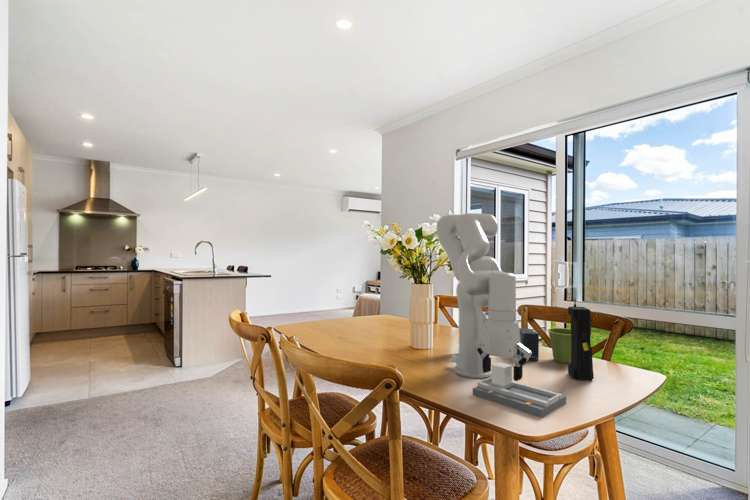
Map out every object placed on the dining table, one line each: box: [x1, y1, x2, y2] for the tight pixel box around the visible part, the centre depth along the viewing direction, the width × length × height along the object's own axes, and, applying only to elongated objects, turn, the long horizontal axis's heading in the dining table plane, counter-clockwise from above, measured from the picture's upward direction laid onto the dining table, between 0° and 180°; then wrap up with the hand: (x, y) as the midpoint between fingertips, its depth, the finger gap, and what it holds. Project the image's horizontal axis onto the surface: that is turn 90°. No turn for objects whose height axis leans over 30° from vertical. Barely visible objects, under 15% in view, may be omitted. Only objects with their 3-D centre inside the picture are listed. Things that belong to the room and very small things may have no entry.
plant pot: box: [546, 327, 571, 364], centre depth 147 cm, size 12×12×11 cm
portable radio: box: [567, 298, 595, 382], centre depth 127 cm, size 8×6×25 cm
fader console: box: [472, 376, 567, 419], centre depth 108 cm, size 20×14×3 cm
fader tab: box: [490, 362, 513, 389], centre depth 112 cm, size 4×6×6 cm
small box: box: [519, 327, 540, 362], centre depth 152 cm, size 11×6×10 cm, turn 179°
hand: (501, 375), depth 112 cm, fingers open, 9 cm apart
